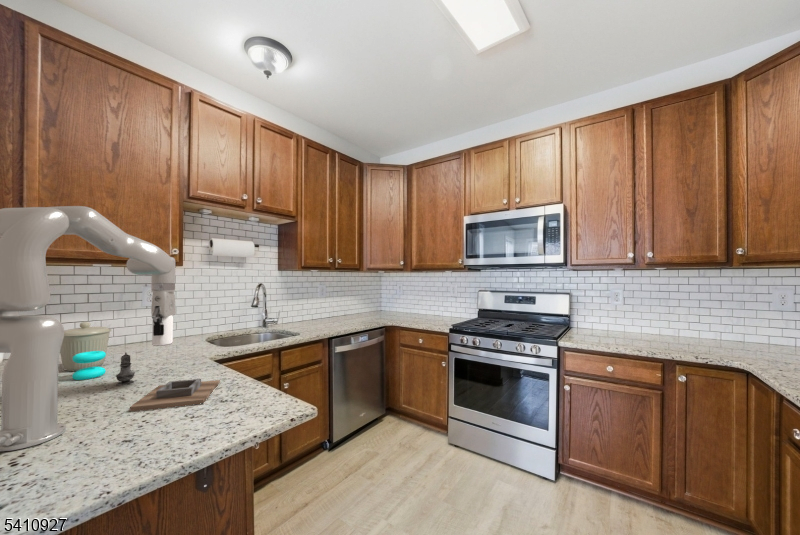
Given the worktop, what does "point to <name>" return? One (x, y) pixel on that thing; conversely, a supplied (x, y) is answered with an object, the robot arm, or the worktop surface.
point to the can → (168, 333)
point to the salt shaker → (125, 371)
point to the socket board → (176, 394)
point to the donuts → (90, 371)
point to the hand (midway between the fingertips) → (162, 333)
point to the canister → (83, 345)
